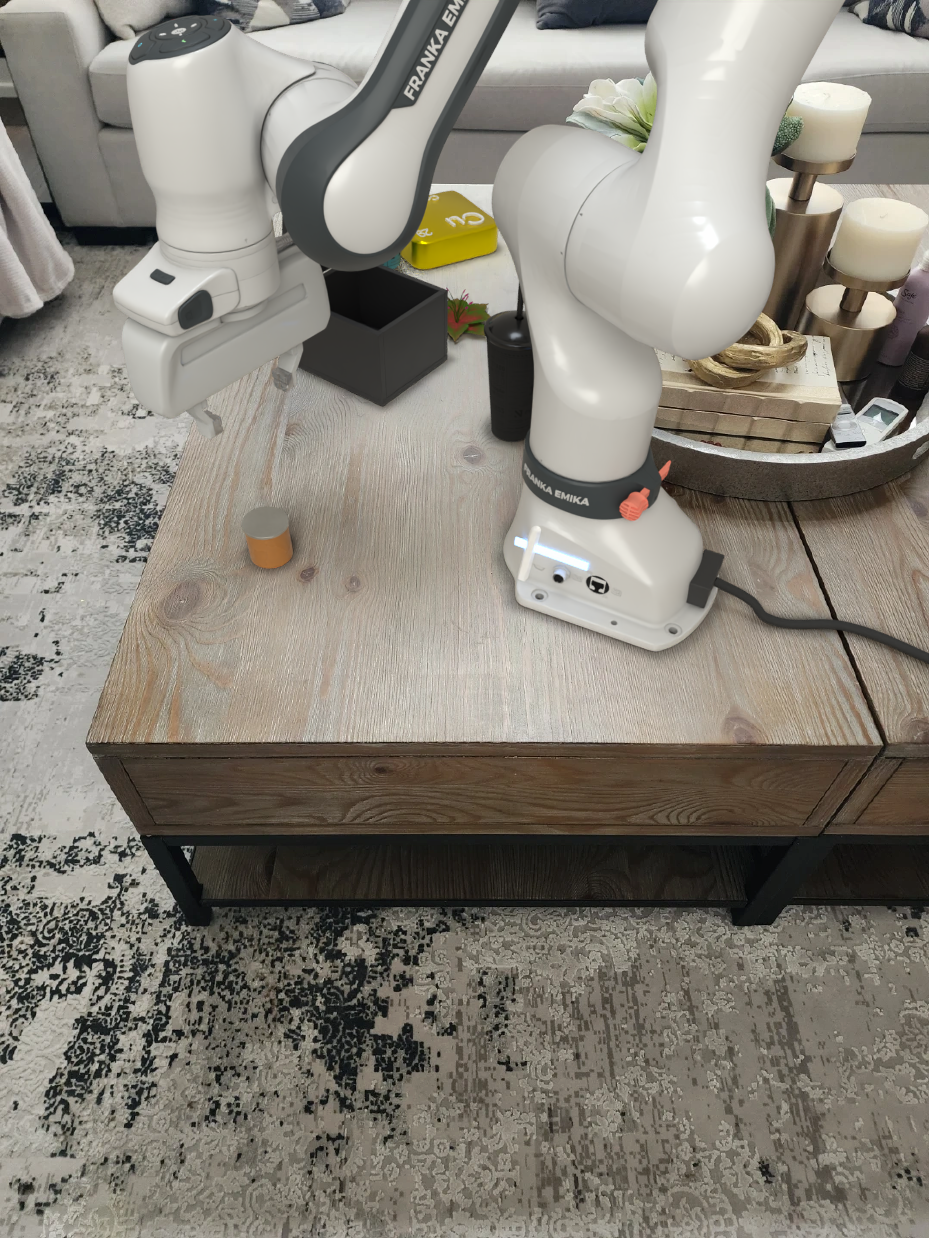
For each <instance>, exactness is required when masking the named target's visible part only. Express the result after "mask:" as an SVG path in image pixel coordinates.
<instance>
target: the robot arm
mask: <svg viewBox="0 0 929 1238" xmlns="http://www.w3.org/2000/svg"><path fill="white" fill-rule="evenodd" d="M845 2H846V0H657V2H656V4H655V6H654V8H653V10H652V11H651V13H650V16H649V19H648V21H647V24H646V28H645V32H644V41H643V42H644V54H645V59H646V63H647V66H648V68H649V71H650V73H651V76H652V79H653V80H654V82H655V84H656V102H655V110H654V115H653V116H654V117H653V121H652V125H651V128H650V132H649V135H648V138H647V141H646V144H645V147H644V149H643V151H642V153H641V152H639V151H637V150H636V149H634V148H632V147H631V146H628V145H626V144H624V143H622V142H620V141H618V140H616V139H614V138H612V137H610V136H608V135H606V134H604V133H603V132H601V131H597V130H594V129H589V128H582V127H577V126H572V125H571V126H570V125H563V124H553V123H551V124H550V123H548V124H543V125H539V126H536V127H534V128H532V129H530V130H528V131H527V132H526V133H524V134H523V135H522V136H520V137H519V138H518V139H517V140H515V142H514V143H513V144H512V145H511V147H510V148H509V150H508V151H507V152H506V153H505V156H504V157H503V159H502V160H501V162H500V164H499V167H498V169H497V170H496V171H497V172H496V175H495V177H494V181H493V185H492V192H491V211H492V218H494V221H495V223H496V226H497V228H498V232H499V233H500V235H501V237H502V239H503V241H504V243H505V244H506V247H507V250H508V252H509V255H510V258H511V260H512V263H513V265H514V268H515V269H514V270H515V271H516V275H517V279H518V284H519V283H520V287H521V292H522V296H523V301H524V304H523V307H524V311H526V316H527V321H528V326H529V331H530V337H531V343H532V350H533V360H534V388H533V403H532V416H531V428H530V429H529V431H528V432H527V435H526V438H525V439H524V445H523V453H522V462H521V475H522V479H523V483H522V488H521V493H520V497H519V501H518V505H517V509H516V512H515V514H514V518H513V520H512V522H511V525H510V527H509V529H508V531H507V532H506V535H505V537H504V540H503V547H502V553H503V559H504V561H505V564H506V566H507V568H508V570H509V572H510V574H511V575H512V577H513V580H514V597H515V600H516V602H517V603H518V605H520V606H522V607H525V608H527V609H530V610H533V611H536V612H539V613H542V614H545V615H548V616H550V617H552V618H556V619H558V620H562V621H564V622H568V623H570V624H573V625H576V626H578V627H582V628H584V629H587V630H590V631H593V632H595V633H599V634H601V635H604V636H607V637H610V638H613V639H616V640H619V641H621V642H623V643H627V644H630V645H633V646H635V647H637V648H642V649H643V650H647V651H651V652H660V651H664V650H668V649H670V648H671V647H674V646H676V645H678V644H680V643H681V642H682V641H684V640H685V639H687V638H688V637H689V636H690V635H691V634H692V633H694V631H695V630H696V629H697V628H698V627H699V626H700V625H701V623H703V621H704V620H705V618H706V617H707V616H708V614H709V612H710V611H711V609H712V606H713V605H714V603H715V601H716V597H717V595H718V590H721V591H723V592H725V593H727V594H729V595H731V596H733V597H735V598H737V599H739V600H740V601H742V602H744V603H745V604H746V605H748V606H749V607H750V608H751V609H752V611H753V613H754V614H755V615H756V617H757V618H758V619H759V620H760V621H761V622H763V623H766V624H768V625H770V626H773V627H777V628H782V629H787V630H789V629H790V630H834V631H836V630H837V631H842V632H845V633H846V632H847V633H850V634H855V635H858V636H860V637H863V638H867V639H870V640H872V641H876V642H878V643H880V644H883V645H885V646H888V647H890V648H892V649H894V650H897V651H899V652H901V653H903V654H906V655H908V656H909V657H912V658H914V659H915V660H918V661H921V662H923V663H924V664H925V663H926V664H927V665H929V652H927V651H925V650H923V649H921V648H918V647H916V646H913V645H912V644H910V643H908V642H905V641H903V640H901V639H899V638H896V637H894V636H891V635H889V634H887V633H884V632H881V631H880V630H877V629H875V628H874V629H873V628H870V627H867V626H865V625H861V624H857V623H855V622H854V623H853V622H849V621H845V620H839V619H826V618H824V619H823V618H816V619H815V618H814V619H811V618H810V619H809V618H808V619H792V618H791V619H790V618H784V617H780V616H776V615H773V614H771V613H769V612H768V611H766V610H765V608H764V607H763V605H762V603H760V601H759V600H758V599H757V598H756V597H754V596H753V595H752V594H751V593H749V592H747V591H746V590H745V589H743V588H741V587H739V586H736V585H735V584H732V583H730V582H728V581H726V580H724V579H722V578H720V571H721V568H722V565H723V563H724V560H725V557H726V555H725V554H722V553H720V552H716V551H714V550H710V549H707V548H705V549H704V541H703V536H702V533H701V530H700V529H699V527H698V526H697V524H695V523H694V521H693V520H692V519H691V518H690V517H689V516H688V515H687V514H686V513H685V512H684V511H683V510H682V508H681V507H680V506H679V505H678V502H677V501H676V499H675V498H673V497H672V496H671V495H669V493H668V492H667V491H666V490H665V489H664V487H663V486H662V481H664V479H665V478H666V477H667V476H668V474H669V472H670V467H671V463H672V461H671V460H668V461H667V462H666V463H665V464H664V465H663V466H662V467H661V469H658V468H657V465H656V462H655V458H654V453H653V449H652V446H651V441H652V438H653V437H652V436H653V432H654V428H655V423H656V419H657V415H658V410H659V406H660V402H661V397H662V392H663V385H664V384H663V382H664V381H663V372H662V366H661V364H660V360H659V357H658V355H657V353H656V350H658V351H660V352H663V353H666V354H669V355H672V356H674V357H678V358H680V359H684V360H688V361H701V360H705V359H708V358H710V357H713V356H717V355H718V354H720V353H722V352H724V351H725V350H727V349H728V348H730V347H731V346H733V345H734V344H736V343H737V342H738V341H739V340H740V339H741V338H742V337H744V336H745V335H746V334H747V333H748V332H749V331H750V329H751V328H752V327H753V326H754V325H755V324H756V322H757V321H758V319H759V317H760V315H762V312H763V310H764V309H765V307H766V305H767V302H768V300H769V297H770V294H771V291H772V287H773V285H774V279H775V278H774V277H775V269H776V254H775V253H776V252H775V248H774V244H773V240H772V237H771V232H770V230H769V226H768V219H767V205H766V203H767V202H766V198H767V196H766V195H767V182H768V175H769V168H770V163H771V157H772V154H773V149H774V145H775V141H776V138H777V135H778V132H779V128H780V126H781V123H782V121H783V118H784V116H785V113H786V112H787V111H786V110H787V109H788V106H789V104H790V102H791V100H792V98H793V96H794V94H795V93H796V90H797V88H798V86H799V84H800V83H801V81H802V79H803V77H804V75H805V73H806V71H807V69H808V68H809V66H810V64H811V62H812V61H813V59H814V57H815V55H816V53H817V51H818V49H819V47H820V46H821V44H822V42H823V41H824V39H825V37H826V35H827V32H829V29H830V28H831V26H832V24H833V22H834V21H835V19H836V17H837V15H838V14H839V12H840V10H841V8H842V7H843V5H844V3H845ZM520 3H521V0H402V1H401V3H400V5H399V6H398V9H397V11H396V13H395V15H394V17H393V19H392V21H391V23H390V25H389V27H388V29H387V31H386V33H385V34H384V37H383V39H382V41H381V43H380V45H379V47H378V49H377V51H376V53H375V55H374V57H373V59H372V61H371V63H370V65H369V67H368V69H367V72H366V73H365V75H364V77H363V79H362V81H361V82H360V84H359V85H358V84H357V83H356V82H355V81H354V80H353V79H352V78H351V77H350V76H349V75H347V74H346V73H345V72H344V71H342V70H340V69H339V68H337V67H336V66H333V65H331V64H329V63H325V62H321V61H316V60H309V59H304V58H300V57H297V56H292V55H289V54H286V53H283V52H282V51H279V50H276V49H274V48H272V47H270V46H268V45H265V44H264V43H261V42H260V41H258V40H256V39H254V38H252V37H251V36H249V35H247V34H246V33H245V32H243V31H242V30H241V29H240V28H238V27H237V26H236V25H235V24H233V22H231V20H229V19H227V18H225V17H222V16H216V15H212V14H207V15H197V14H195V15H194V14H193V15H186V16H182V17H181V16H180V17H176V18H173V19H170V20H168V21H165V22H162V23H160V24H158V25H156V26H154V27H151V28H150V30H148V31H147V32H144V33H143V34H142V35H140V37H138V38H137V40H136V42H135V43H134V45H133V46H132V48H131V50H130V52H129V54H128V58H127V63H126V72H125V75H126V89H127V90H126V91H127V92H126V93H127V99H128V107H129V113H130V114H129V115H130V120H131V125H132V130H133V131H132V132H133V135H134V140H135V146H136V150H137V154H138V158H139V163H140V168H141V171H142V174H143V178H144V180H145V181H146V184H147V185H148V187H149V188H150V190H151V193H152V195H153V199H154V202H155V208H156V212H155V213H156V215H155V229H156V233H157V238H158V240H157V242H155V243H154V245H153V246H152V247H151V248H150V249H149V251H148V252H147V253H146V254H145V255H144V257H143V258H142V259H141V260H140V261H139V262H138V263H137V264H136V265H135V266H134V267H133V268H132V269H131V270H130V271H129V272H128V273H127V274H126V275H124V277H122V279H120V280H119V281H118V283H116V285H115V286H114V287H113V289H112V299H113V302H114V305H115V307H116V309H117V310H118V311H119V312H121V313H122V314H123V315H125V316H126V317H127V318H126V320H125V321H124V323H123V325H122V329H121V336H120V337H121V348H122V355H123V360H124V365H125V368H126V373H127V376H128V381H129V384H130V388H131V391H132V394H133V396H134V398H135V400H136V401H137V402H138V403H139V404H140V405H141V406H142V407H144V408H145V409H147V410H149V411H150V412H152V413H154V414H156V415H158V416H160V417H163V418H165V419H167V420H173V419H176V418H177V417H179V416H180V415H182V414H183V413H185V412H186V413H187V414H188V415H190V416H191V417H192V418H193V419H194V422H195V425H196V429H197V432H198V433H199V434H200V436H202V437H204V438H206V439H207V440H211V441H212V439H214V438H216V437H217V436H219V435H220V434H222V433H224V427H223V426H222V425H223V422H222V417H221V416H220V415H218V414H216V413H213V412H212V411H211V410H208V409H207V408H208V407H209V404H208V400H207V399H209V398H210V397H212V396H214V395H216V394H217V393H219V392H220V391H223V390H224V389H226V388H227V387H230V385H233V384H234V383H236V382H238V381H239V380H240V379H242V378H244V377H246V376H247V375H250V374H252V373H253V372H255V371H256V370H258V369H260V368H262V367H263V366H265V365H266V364H268V363H270V362H271V361H273V360H275V359H276V358H278V362H277V365H276V366H277V367H275V368H274V369H272V370H271V376H272V378H273V379H272V381H273V382H272V383H273V386H274V388H276V389H277V390H281V391H282V392H283V393H287V392H288V391H290V390H292V389H294V388H295V387H297V386H298V377H297V375H298V374H297V370H298V368H299V367H298V365H299V362H300V359H301V356H302V352H303V344H302V342H303V341H305V340H307V339H308V338H310V337H312V336H314V335H315V334H317V333H319V332H320V331H322V330H324V329H325V328H326V326H327V324H328V321H329V318H330V305H329V299H328V294H327V289H326V284H325V280H324V276H323V272H322V269H321V266H320V265H322V266H325V267H327V268H331V269H334V270H340V271H361V270H367V269H370V268H374V267H377V266H379V265H381V264H383V263H385V262H387V261H389V260H390V259H392V258H393V257H395V256H396V255H397V254H399V253H400V252H401V251H402V250H403V249H404V248H405V247H406V246H407V245H408V244H409V242H410V241H411V240H412V238H413V237H414V235H415V234H416V232H417V230H418V228H419V226H420V224H421V222H422V219H423V217H424V214H425V210H426V207H427V203H428V198H429V195H431V194H430V193H431V189H432V183H433V179H434V176H435V172H436V168H437V166H438V161H439V159H440V156H441V153H442V152H443V149H444V147H445V144H446V142H447V140H448V138H449V137H450V135H451V132H452V130H453V129H454V127H455V125H456V123H457V121H458V120H459V117H460V115H461V114H462V112H463V110H464V108H465V106H466V105H467V102H468V101H469V99H470V97H471V95H472V94H473V91H474V89H475V88H476V86H477V84H478V82H479V80H480V78H481V76H482V74H483V73H484V71H485V69H486V67H487V65H488V63H489V61H490V59H491V58H492V56H493V54H494V52H495V50H496V48H497V46H498V45H499V42H500V41H501V39H502V37H503V35H504V34H505V32H506V29H507V28H508V26H509V24H510V22H511V20H512V19H513V16H514V14H515V12H516V11H517V9H518V7H519V5H520ZM278 213H280V214H281V218H282V217H283V220H284V223H285V226H286V229H287V231H288V232H286V234H284V235H282V234H281V235H278V236H276V235H275V227H274V217H275V215H276V214H277V215H278Z"/></svg>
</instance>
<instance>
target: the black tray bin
mask: <svg viewBox="0 0 929 1238" xmlns="http://www.w3.org/2000/svg"><path fill="white" fill-rule="evenodd" d="M323 276H324V280H325V284H326V289H327V294H328V299H329V305H330V318H329V321H328V324H327V326H326V328H325V329H324V330H322V331H320V332H319V333H317V334H315V335H314V336H312V337H310V338H308V339H307V340H305V341H303V342H302V344H303V352H302V356H301V359H300V362H299V365H298V368H299V369H301V370H304V371H305V372H308V373H310V374H311V375H314V376H315V377H318V378H321V379H323V380H325V381H327V382H329V383H331V384H333V385H335V386H337V387H339V388H342V389H344V390H346V391H348V392H351V393H353V394H355V395H357V396H359V397H361V398H363V399H366V400H367V401H370V402H372V403H374V404H376V405H379V406H380V407H384V406H386V405H388V403H390V402H392V400H394V399H396V397H398V396H400V395H401V394H402V393H404V392H405V391H406V390H408V389H409V388H411V387H412V386H413V385H415V384H417V382H419V381H420V380H421V379H423V378H424V377H425V376H427V375H428V374H429V373H431V372H432V371H434V370H435V369H436V368H438V367H439V366H441V365H442V364H443V363H445V362H446V361H447V360H448V339H449V337H448V335H449V333H448V298H449V291H448V290H449V289H448V290H447V289H446V288H443V287H441V286H438V285H435V284H433V283H430V282H427V281H425V280H422V279H420V278H418V277H414V276H412V275H409V274H407V273H404V272H402V271H399V270H397V269H391V268H389V267H386V266H384V265H379V266H377V267H374V268H370V269H367V270H361V271H340V270H334V269H330V270H329V271H327V272H325V273H323Z"/></svg>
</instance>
